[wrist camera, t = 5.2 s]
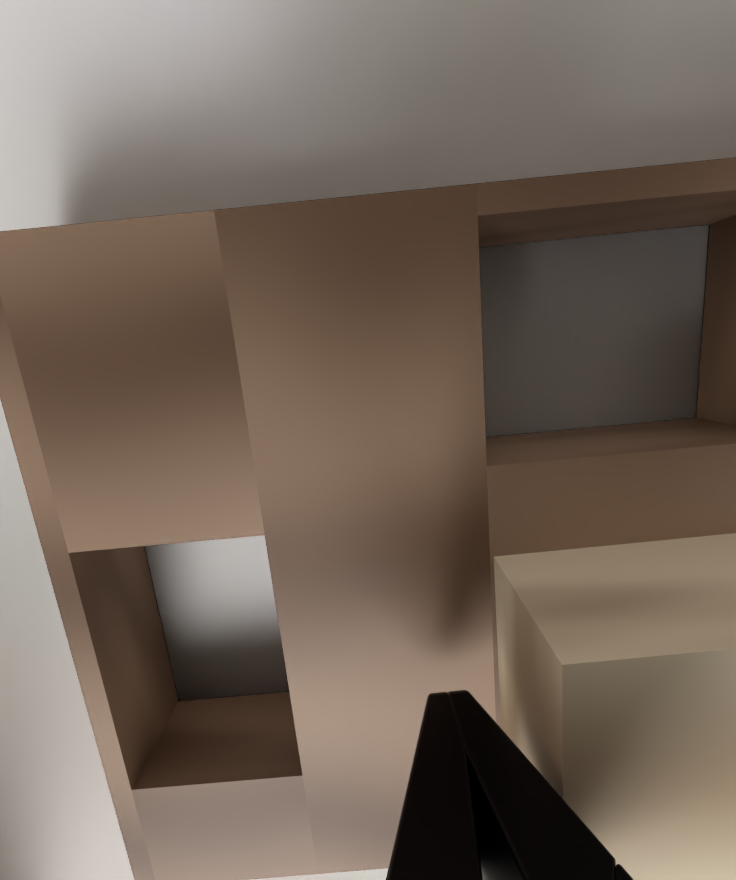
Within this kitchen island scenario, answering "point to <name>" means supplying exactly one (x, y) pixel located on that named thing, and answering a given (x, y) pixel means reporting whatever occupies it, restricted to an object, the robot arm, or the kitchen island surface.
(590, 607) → the block
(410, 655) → the board
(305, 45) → the kitchen island surface
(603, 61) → the kitchen island surface
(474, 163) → the kitchen island surface
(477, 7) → the kitchen island surface
